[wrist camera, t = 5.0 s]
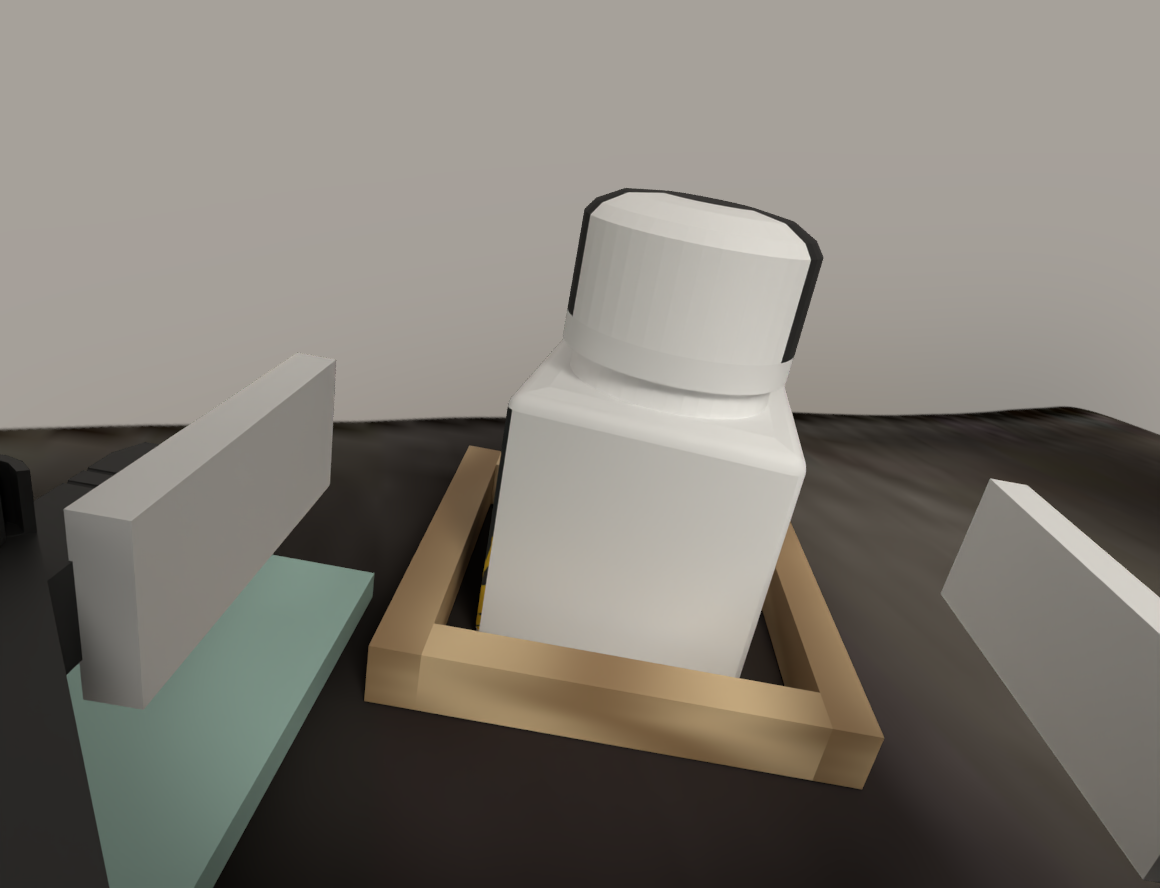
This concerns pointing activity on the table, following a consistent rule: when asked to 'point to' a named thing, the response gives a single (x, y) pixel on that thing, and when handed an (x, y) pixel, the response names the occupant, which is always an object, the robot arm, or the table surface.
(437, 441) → the table surface
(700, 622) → the medicine bottle
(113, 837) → the rubber mat
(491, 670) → the oak cradle
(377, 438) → the table surface
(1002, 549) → the robot arm
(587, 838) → the table surface
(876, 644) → the table surface
